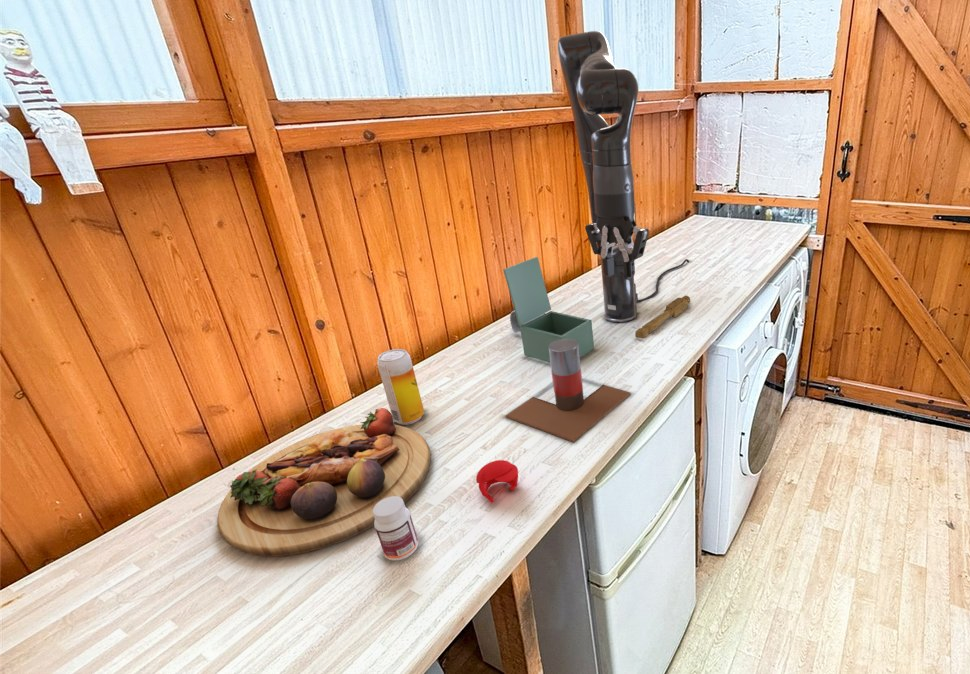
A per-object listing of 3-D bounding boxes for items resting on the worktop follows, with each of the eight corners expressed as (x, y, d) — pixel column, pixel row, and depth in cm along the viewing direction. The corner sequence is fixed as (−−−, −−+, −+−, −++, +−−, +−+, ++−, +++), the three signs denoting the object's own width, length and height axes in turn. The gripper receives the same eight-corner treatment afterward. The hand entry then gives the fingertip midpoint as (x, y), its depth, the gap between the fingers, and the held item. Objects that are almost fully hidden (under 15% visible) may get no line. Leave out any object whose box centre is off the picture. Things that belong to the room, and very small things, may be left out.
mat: (567, 375, 124) (566, 373, 123) (630, 394, 115) (630, 392, 115) (505, 417, 108) (505, 415, 108) (573, 442, 100) (573, 440, 99)
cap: (469, 499, 86) (462, 471, 84) (490, 476, 91) (485, 449, 89) (511, 510, 84) (505, 480, 81) (530, 485, 89) (525, 457, 86)
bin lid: (537, 256, 133) (525, 257, 135) (504, 269, 124) (492, 270, 126) (551, 309, 138) (539, 309, 140) (520, 325, 129) (508, 325, 131)
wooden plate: (364, 416, 110) (353, 382, 107) (469, 460, 96) (461, 423, 92) (184, 513, 85) (162, 473, 82) (289, 593, 71) (268, 549, 67)
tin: (561, 395, 115) (554, 337, 109) (587, 397, 114) (582, 339, 108) (551, 410, 109) (543, 350, 103) (579, 412, 108) (572, 352, 102)
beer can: (431, 412, 111) (415, 349, 105) (410, 428, 106) (393, 363, 99) (408, 408, 113) (391, 346, 106) (387, 423, 108) (368, 359, 101)
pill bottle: (391, 538, 79) (377, 495, 76) (423, 535, 79) (410, 492, 76) (379, 563, 75) (363, 519, 71) (413, 560, 75) (399, 516, 72)
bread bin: (594, 350, 135) (591, 319, 132) (565, 369, 126) (562, 337, 123) (554, 340, 142) (550, 310, 138) (524, 357, 133) (519, 326, 129)
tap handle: (634, 328, 140) (683, 293, 163) (634, 339, 141) (683, 302, 164) (643, 330, 138) (692, 294, 162) (644, 341, 140) (692, 304, 163)
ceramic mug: (550, 331, 148) (547, 305, 144) (526, 340, 142) (522, 314, 139) (529, 322, 154) (525, 297, 151) (505, 330, 149) (501, 305, 146)
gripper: (656, 188, 96) (659, 276, 103) (595, 184, 103) (601, 267, 110) (635, 195, 90) (639, 287, 98) (571, 190, 97) (579, 277, 104)
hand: (619, 276), depth 104 cm, fingers open, 4 cm apart
